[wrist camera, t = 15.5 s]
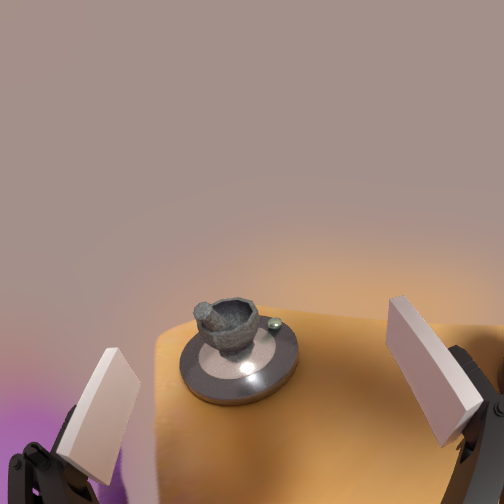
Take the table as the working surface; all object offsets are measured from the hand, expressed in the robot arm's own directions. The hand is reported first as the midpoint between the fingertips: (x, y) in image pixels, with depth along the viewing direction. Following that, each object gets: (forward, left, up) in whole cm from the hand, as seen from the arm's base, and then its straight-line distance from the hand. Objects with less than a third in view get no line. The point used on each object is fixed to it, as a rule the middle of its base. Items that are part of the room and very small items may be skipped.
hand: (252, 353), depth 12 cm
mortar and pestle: (+6, -25, -22) cm, 34 cm away
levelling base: (+6, -25, -25) cm, 36 cm away
